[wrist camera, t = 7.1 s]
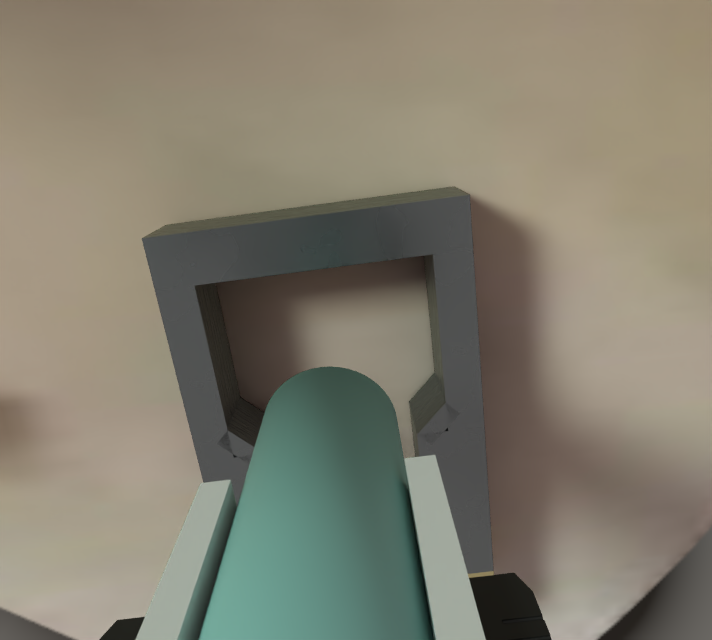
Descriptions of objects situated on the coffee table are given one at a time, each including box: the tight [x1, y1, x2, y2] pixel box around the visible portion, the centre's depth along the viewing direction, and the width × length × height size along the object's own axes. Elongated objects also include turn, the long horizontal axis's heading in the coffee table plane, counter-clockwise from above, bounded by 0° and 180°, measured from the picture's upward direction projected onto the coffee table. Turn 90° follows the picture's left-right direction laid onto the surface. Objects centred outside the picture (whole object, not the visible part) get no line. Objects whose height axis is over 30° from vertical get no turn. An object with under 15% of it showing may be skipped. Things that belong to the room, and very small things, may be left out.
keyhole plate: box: [142, 187, 494, 578], centre depth 25 cm, size 20×12×3 cm, turn 7°
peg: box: [198, 367, 434, 640], centre depth 11 cm, size 4×4×16 cm
